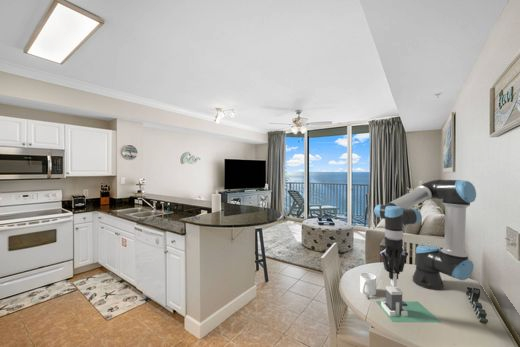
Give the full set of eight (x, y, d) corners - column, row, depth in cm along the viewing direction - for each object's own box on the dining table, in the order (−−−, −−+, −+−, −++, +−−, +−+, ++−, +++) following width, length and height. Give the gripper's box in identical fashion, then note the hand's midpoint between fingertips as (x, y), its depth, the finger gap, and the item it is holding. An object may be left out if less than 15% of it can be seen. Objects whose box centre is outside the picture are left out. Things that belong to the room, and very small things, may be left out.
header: (397, 305, 113) (397, 301, 113) (407, 316, 105) (407, 311, 105) (381, 305, 113) (381, 301, 113) (390, 316, 105) (390, 311, 105)
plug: (396, 307, 111) (396, 286, 111) (403, 315, 106) (403, 292, 106) (385, 307, 112) (385, 286, 111) (392, 315, 106) (392, 292, 106)
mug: (370, 302, 118) (370, 283, 118) (355, 296, 124) (355, 278, 124) (378, 293, 126) (378, 275, 126) (363, 288, 132) (363, 271, 132)
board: (417, 303, 116) (417, 298, 116) (441, 324, 100) (441, 318, 100) (375, 303, 117) (375, 297, 117) (392, 324, 101) (392, 318, 101)
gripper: (402, 235, 112) (402, 281, 112) (376, 235, 112) (376, 281, 113) (412, 240, 105) (412, 289, 105) (384, 240, 105) (384, 289, 105)
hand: (393, 285), depth 109 cm, fingers closed
